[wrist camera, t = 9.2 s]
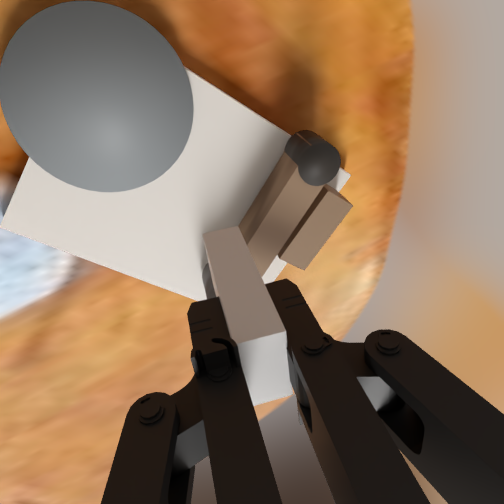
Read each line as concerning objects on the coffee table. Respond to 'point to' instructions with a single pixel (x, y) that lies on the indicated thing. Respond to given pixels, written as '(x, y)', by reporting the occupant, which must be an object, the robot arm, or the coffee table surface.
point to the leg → (284, 199)
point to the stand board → (137, 150)
